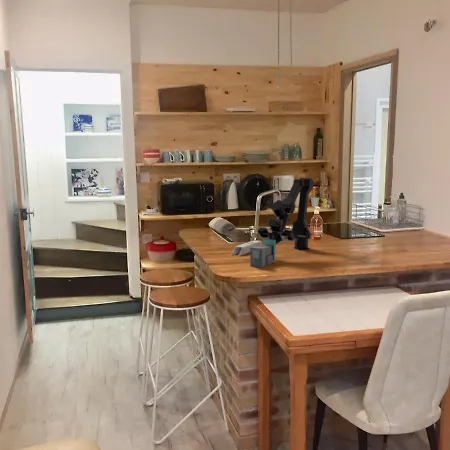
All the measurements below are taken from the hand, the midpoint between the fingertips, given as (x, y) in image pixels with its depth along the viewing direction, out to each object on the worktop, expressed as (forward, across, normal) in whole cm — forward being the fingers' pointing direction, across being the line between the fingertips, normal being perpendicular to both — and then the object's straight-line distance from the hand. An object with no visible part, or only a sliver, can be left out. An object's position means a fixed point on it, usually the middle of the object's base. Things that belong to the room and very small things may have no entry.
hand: (270, 247), depth 248 cm
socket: (+14, 0, -4) cm, 14 cm away
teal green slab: (+9, 0, -1) cm, 9 cm away
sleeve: (+9, 0, +1) cm, 9 cm away
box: (-3, -22, +14) cm, 26 cm away
